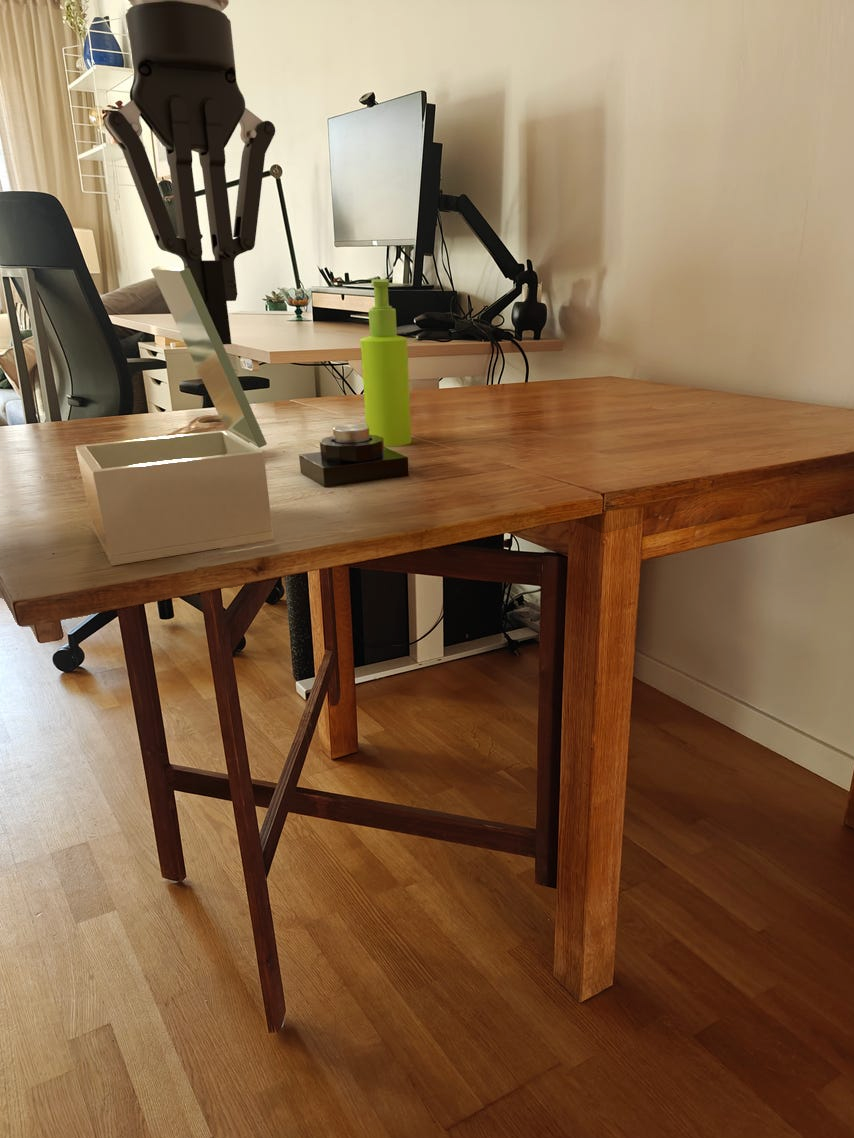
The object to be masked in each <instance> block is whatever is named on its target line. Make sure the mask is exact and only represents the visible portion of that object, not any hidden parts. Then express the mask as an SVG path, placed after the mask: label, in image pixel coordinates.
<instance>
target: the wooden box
mask: <svg viewBox="0 0 854 1138" xmlns="http://www.w3.org/2000/svg"><path fill="white" fill-rule="evenodd" d="M164 436H165V437H164ZM164 436H157V437H147V438H138V439H128V440H118V441H110V442H100V443H99V442H98V443H89V444H80V445H75V451H76V456H77V460H78V461H77V462H78V467H79V471H80V476H81V481H82V486H83V490H84V491H83V492H84V496H85V501H86V506H87V509H88V514H89V519H90V524H91V525H90V526H91V529H92V531H93V533H94V536H95V537H96V539H97V541H98V543H99V545H100V547H101V548H102V550H103V552H104V554H105V556H106V559H107V560H108V562H109V563H110V566H111V567H114V566H120V565H126V564H132V563H140V562H145V561H151V560H156V559H164V558H168V557H176V556H181V555H188V554H193V553H199V552H204V551H205V552H206V551H211V550H217V549H222V548H228V547H233V546H234V547H235V546H239V545H246V544H253V543H257V542H258V543H259V542H264V541H269V540H271V541H272V540H274V531H273V522H272V514H271V506H270V505H271V504H270V503H271V502H270V496H269V487H268V486H269V485H268V477H267V470H266V468H267V467H266V461H265V453H264V452H265V451H262V450H261V449H260V448H258V447H257V446H255V445H254V444H252V443H248V442H247V441H245V440H243V439H242V438H240V437H238V436H237V435H235V434H234V433H232V432H230V431H229V430H223V431H214V432H204V433H194V434H185V435H175V436H166V435H164Z"/></svg>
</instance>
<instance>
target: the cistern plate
mask: <svg viewBox="0 0 854 1138" xmlns="http://www.w3.org/2000/svg"><path fill="white" fill-rule="evenodd" d="M369 436H370V441H369V442H366V443H358V444H339V443H334V437H333V435H330V436H327V437H323V438H322V439H321V440H320V441H319V448H320V449H319V450H320V451H316V452H309V453H301V454H300V453H299V454H298V459H299V460H298V461H299V469H300V474H301V475H303V476H305V477H306V478H307V479H310V480H311V481H313V482H315V483H316V484H318V485H319V486H321V487H323V488H324V489H326V488H327V489H328V488H334V487H335V488H336V487H340V486H348V485H355V484H362V483H369V482H376V481H383V480H391V479H398V478H405V477H410V473H409V457H408V456H406V455H403V454H402V453H399V452H397V451H394V450H392V449H390V448H389V447H384V441H383V438H382V437H380V436H377V435H370V434H369Z"/></svg>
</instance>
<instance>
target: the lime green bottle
mask: <svg viewBox="0 0 854 1138" xmlns="http://www.w3.org/2000/svg"><path fill="white" fill-rule="evenodd" d="M370 284H371V287H373V290H374V292H373V293H374V294H373V295H374V305H373V306H372V307H371V308H369V309H368V322H369V323H368V324H369V325H368V326H369V336H364V337H362V338H360V339H359V340H360V355H361V371H362V384H363V401H364V416H365V417H364V418H365V425H366V426H368V427H369V434H370V435H377V436H380V437H382V438H383V441H384V447H386V448H391V447H392V448H393V447H401V446H402V447H403V446H406V445H409V444H411V443H412V425H411V424H412V420H411V401H410V399H411V398H410V378H409V377H410V376H409V353H408V352H409V351H408V338H407V337H404V336H401V335H398V330H397V329H398V328H397V327H398V326H397V311H396V310H397V309H396V308H394V307H393V306H392V305H390V303H389V287H390V280H389V279H388V278H376V279H375V278H372V279H371V282H370Z"/></svg>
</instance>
